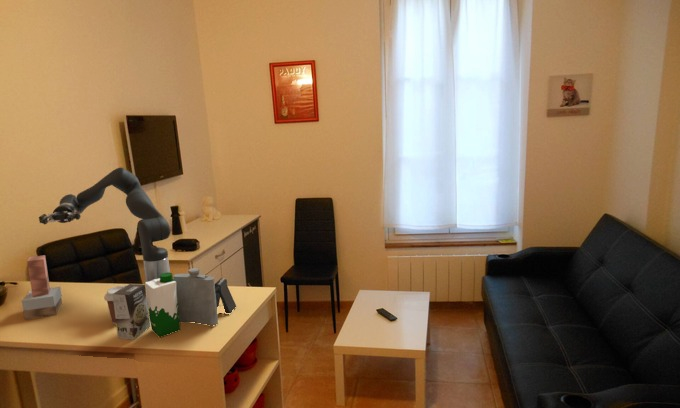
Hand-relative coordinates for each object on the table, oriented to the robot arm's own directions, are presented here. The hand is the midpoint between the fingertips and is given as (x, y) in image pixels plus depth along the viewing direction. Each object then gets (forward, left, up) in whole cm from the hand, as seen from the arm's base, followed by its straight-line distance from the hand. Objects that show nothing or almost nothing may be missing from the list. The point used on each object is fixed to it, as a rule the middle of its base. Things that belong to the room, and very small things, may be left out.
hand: (56, 220), depth 175 cm
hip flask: (-49, +48, -32) cm, 76 cm away
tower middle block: (+5, +15, -28) cm, 33 cm away
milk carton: (-38, +50, -32) cm, 71 cm away
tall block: (+5, +15, -24) cm, 29 cm away
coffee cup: (-23, +35, -32) cm, 53 cm away
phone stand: (-58, +42, -32) cm, 79 cm away
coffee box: (-28, +47, -32) cm, 64 cm away
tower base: (+5, +15, -32) cm, 36 cm away
